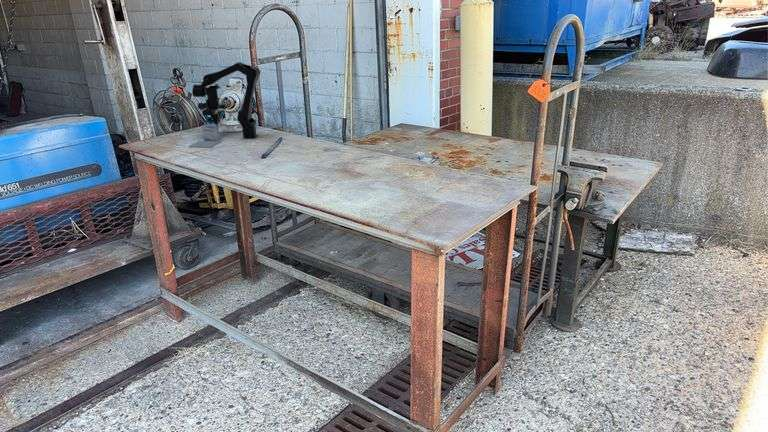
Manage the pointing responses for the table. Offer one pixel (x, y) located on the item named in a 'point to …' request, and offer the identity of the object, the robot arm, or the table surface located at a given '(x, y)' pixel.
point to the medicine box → (211, 132)
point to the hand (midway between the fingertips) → (216, 124)
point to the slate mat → (205, 144)
